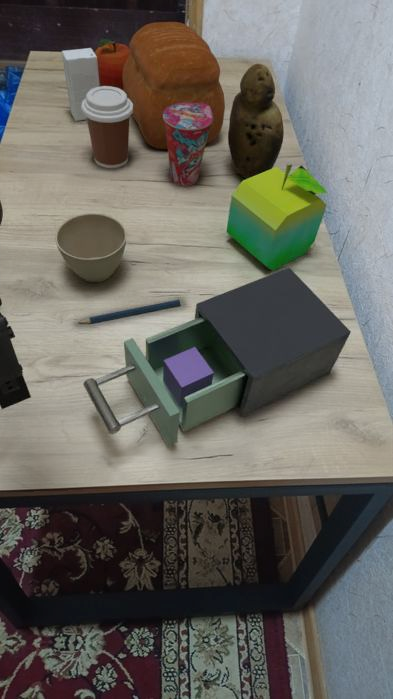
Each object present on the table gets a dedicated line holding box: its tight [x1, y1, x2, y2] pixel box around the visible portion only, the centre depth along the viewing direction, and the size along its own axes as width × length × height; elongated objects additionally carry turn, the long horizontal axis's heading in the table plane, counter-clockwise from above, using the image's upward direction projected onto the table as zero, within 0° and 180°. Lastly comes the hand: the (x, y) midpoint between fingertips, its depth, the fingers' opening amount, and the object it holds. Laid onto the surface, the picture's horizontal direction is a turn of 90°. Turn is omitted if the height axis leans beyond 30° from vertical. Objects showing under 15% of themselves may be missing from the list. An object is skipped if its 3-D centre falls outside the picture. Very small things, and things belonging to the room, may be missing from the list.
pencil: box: [78, 299, 182, 325], centre depth 71 cm, size 1×1×15 cm
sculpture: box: [227, 63, 285, 179], centre depth 86 cm, size 13×8×20 cm, turn 11°
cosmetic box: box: [61, 47, 101, 122], centre depth 99 cm, size 6×4×12 cm
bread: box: [122, 21, 226, 150], centre depth 97 cm, size 18×21×17 cm
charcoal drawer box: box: [194, 267, 352, 419], centre depth 64 cm, size 15×13×9 cm
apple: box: [225, 164, 329, 271], centre depth 76 cm, size 11×10×15 cm
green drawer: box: [83, 316, 248, 447], centre depth 59 cm, size 20×11×7 cm, turn 121°
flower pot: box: [54, 212, 127, 283], centre depth 73 cm, size 10×10×7 cm
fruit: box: [94, 38, 131, 91], centre depth 108 cm, size 10×10×10 cm
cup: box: [163, 103, 213, 187], centre depth 88 cm, size 9×8×12 cm
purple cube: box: [163, 347, 214, 407], centre depth 60 cm, size 4×4×4 cm
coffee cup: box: [81, 85, 133, 169], centre depth 90 cm, size 9×9×12 cm
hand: (14, 396), depth 45 cm, fingers closed
